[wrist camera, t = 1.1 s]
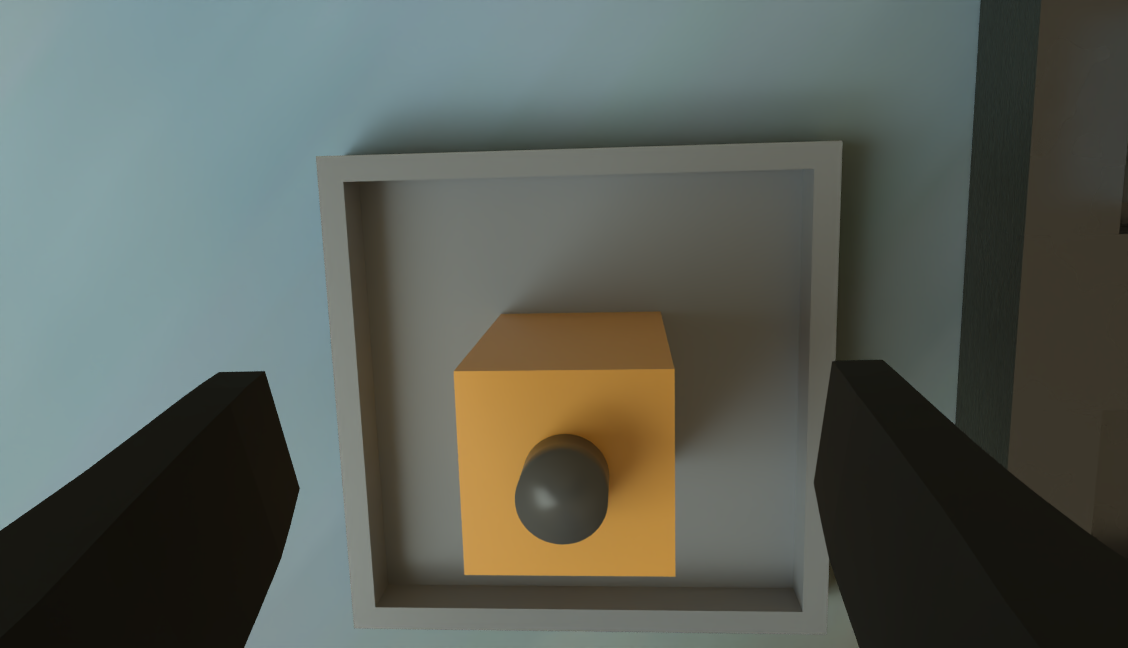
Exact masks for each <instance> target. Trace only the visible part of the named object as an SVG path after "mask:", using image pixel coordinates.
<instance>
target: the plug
mask: <svg viewBox="0 0 1128 648" xmlns="http://www.w3.org/2000/svg"><path fill="white" fill-rule="evenodd" d="M454 390H455V408H456V427H457V445H458V464H459V483H460V501H461V520H462V538H463V557H464V575H534V576H663V577H675V369H674V365H673V361H672V356H671V352H670V348H669V344H668V340H667V336H666V332H665V328H664V324H663V319H662V315H661V311H659V312H595V313H531V314H500V316H499V317H498V318H497V319H496V321H495V322H494V323H493V324H492V325H491V327H490V328H489V329H488V330H487V331H486V333H485V334H484V335H483V336H482V337H481V339H480V340H479V341H478V342H477V344H476V345H475V346H474V347H473V348H472V350H471V351H470V352H469V353H468V354H467V356H466V357H465V358H464V359H463V360H462V362H461V363H460V364H459V365H458V367H457V368H456V369H455V370H454Z"/></svg>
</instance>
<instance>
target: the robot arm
mask: <svg viewBox="0 0 1128 648" xmlns="http://www.w3.org/2000/svg"><path fill="white" fill-rule="evenodd" d="M814 488H815V493H816V498H817V504H818V509H819V514H820V519H821V524H822V529H823V533H824V538H825V543H826V547H827V552H828V556H829V559H830V562H831V565H832V568H833V571H834V575H835V577H836V580H837V583H838V586H839V589H840V592H841V595H842V598H843V601H844V604H845V607H846V610H847V613H848V616H849V619H850V622H851V625H852V628H853V630H854V633H855V636H856V639H857V642H858V645H859V648H1128V560H1127V559H1125V558H1124V557H1122V556H1121V555H1119V554H1118V553H1116V552H1115V551H1113V550H1112V549H1111V548H1109V547H1108V546H1106V545H1105V544H1103V543H1102V542H1101V541H1099V540H1098V539H1096V538H1095V537H1094V536H1092V535H1091V534H1089V533H1088V532H1087V531H1085V530H1084V529H1083V528H1081V527H1080V526H1079V525H1077V524H1076V523H1075V522H1073V521H1072V520H1071V519H1069V518H1068V517H1067V516H1065V515H1064V514H1063V513H1062V512H1060V511H1059V510H1058V509H1056V508H1055V507H1054V506H1052V505H1051V504H1050V503H1048V502H1047V501H1046V500H1044V499H1043V498H1042V497H1041V496H1039V495H1038V494H1037V493H1035V492H1034V491H1033V490H1032V489H1030V488H1029V487H1028V486H1027V485H1025V484H1024V483H1023V482H1022V481H1020V480H1019V479H1018V478H1017V477H1015V476H1014V475H1013V474H1012V473H1010V472H1009V471H1008V470H1007V469H1006V468H1004V467H1003V466H1002V465H1001V464H1000V463H998V462H997V461H996V460H995V459H994V458H992V457H991V456H990V455H989V454H988V453H987V452H985V451H984V450H983V449H982V448H981V447H980V446H978V445H977V444H976V443H975V442H974V441H973V440H972V439H970V438H969V437H968V436H967V435H966V434H965V433H964V432H962V431H961V430H960V429H959V428H958V427H957V426H956V425H954V424H953V423H952V422H951V421H950V420H949V419H948V418H947V417H946V416H944V415H943V414H942V413H941V412H940V411H939V410H938V409H937V408H936V407H934V406H933V405H932V404H931V403H930V402H929V401H928V400H927V399H926V398H924V397H923V396H922V395H921V394H920V393H919V392H918V391H917V390H916V389H915V388H913V387H912V386H911V385H910V384H909V383H908V382H907V381H906V380H905V379H904V378H902V377H901V376H900V375H899V374H898V373H897V372H896V371H895V370H893V369H892V368H891V367H890V366H889V365H888V364H887V363H885V362H884V361H883V360H851V361H832V365H831V371H830V378H829V385H828V391H827V398H826V404H825V411H824V417H823V424H822V431H821V437H820V444H819V450H818V457H817V464H816V470H815V477H814ZM299 489H300V488H299V485H298V481H297V478H296V475H295V471H294V468H293V464H292V461H291V458H290V454H289V451H288V448H287V444H286V441H285V438H284V434H283V431H282V427H281V424H280V421H279V417H278V414H277V411H276V407H275V404H274V400H273V397H272V394H271V390H270V387H269V384H268V380H267V377H266V374H265V371H256V372H219V373H217V374H216V375H214V376H212V377H211V378H209V379H208V380H206V381H205V382H203V383H202V384H201V385H199V386H198V387H196V388H195V389H194V390H192V391H191V392H190V393H188V394H187V395H185V396H184V397H183V398H181V399H180V400H179V401H177V402H176V403H175V404H173V405H172V406H171V407H170V408H168V409H167V410H166V411H164V412H163V413H162V414H160V415H159V416H158V417H156V418H155V419H154V420H152V421H151V422H150V423H149V424H147V425H146V426H145V427H143V428H142V429H141V430H139V431H138V432H137V433H135V434H134V435H133V436H131V437H130V438H129V439H127V440H126V441H125V442H123V443H122V444H121V445H119V446H118V447H117V448H116V449H114V450H113V451H112V452H110V453H109V454H108V455H106V456H105V457H104V458H102V459H101V460H100V461H98V462H97V463H96V464H94V465H93V466H92V467H90V468H89V469H88V470H86V471H85V472H84V473H82V474H81V475H79V476H78V477H77V478H75V479H74V480H72V481H71V482H69V483H68V484H67V485H65V486H64V487H62V488H61V489H59V490H58V491H57V492H55V493H54V494H52V495H51V496H49V497H48V498H47V499H45V500H44V501H42V502H41V503H39V504H38V505H37V506H35V507H34V508H32V509H31V510H29V511H28V512H27V513H25V514H24V515H22V516H21V517H19V518H18V519H17V520H15V521H14V522H12V523H11V524H9V525H8V526H7V527H5V528H4V529H2V530H1V531H0V648H244V647H245V644H246V642H247V640H248V637H249V635H250V632H251V630H252V628H253V625H254V623H255V621H256V618H257V616H258V614H259V611H260V609H261V606H262V604H263V601H264V599H265V597H266V594H267V592H268V589H269V587H270V585H271V582H272V580H273V577H274V575H275V572H276V570H277V567H278V565H279V562H280V560H281V557H282V553H283V550H284V546H285V543H286V539H287V536H288V532H289V529H290V525H291V521H292V517H293V513H294V509H295V505H296V501H297V497H298V493H299Z"/></svg>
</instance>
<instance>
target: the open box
mask: <svg viewBox="0 0 1128 648" xmlns="http://www.w3.org/2000/svg"><path fill="white" fill-rule="evenodd" d="M1127 144H1128V0H981V5H980V22H979V39H978V55H977V72H976V89H975V106H974V122H973V139H972V156H971V172H970V189H969V206H968V223H967V239H966V256H965V273H964V289H963V306H962V323H961V340H960V356H959V373H958V390H957V406H956V423H955V425H956V426H957V427H958V428H959V429H960V430H961V431H962V432H964V433H965V434H966V435H967V436H968V437H969V438H970V439H972V440H973V441H974V442H975V443H976V444H977V445H978V446H980V447H981V448H982V449H983V450H984V451H985V452H987V453H988V454H989V455H990V456H991V457H992V458H994V459H995V460H996V461H997V462H998V463H1000V464H1001V465H1002V466H1003V467H1004V468H1006V469H1007V470H1008V471H1009V472H1010V473H1012V474H1013V475H1014V476H1015V477H1017V478H1018V479H1019V480H1020V481H1022V482H1023V483H1024V484H1025V485H1027V486H1028V487H1029V488H1030V489H1032V490H1033V491H1034V492H1035V493H1037V494H1038V495H1039V496H1041V497H1042V498H1043V499H1044V500H1046V501H1047V502H1048V503H1050V504H1051V505H1052V506H1054V507H1055V508H1056V509H1058V510H1059V511H1060V512H1062V513H1063V514H1064V515H1065V516H1067V517H1068V518H1069V519H1071V520H1072V521H1073V522H1075V523H1076V524H1077V525H1079V526H1080V527H1081V528H1083V529H1084V530H1085V531H1087V532H1088V533H1089V534H1091V535H1092V536H1094V537H1095V538H1096V539H1098V540H1099V541H1101V542H1102V543H1103V544H1105V545H1106V546H1108V547H1109V548H1111V549H1112V550H1113V551H1115V552H1116V553H1118V554H1119V555H1121V556H1122V557H1124V558H1125V559H1127V560H1128V202H1122V197H1123V187H1124V176H1125V165H1126V154H1127Z"/></svg>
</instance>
